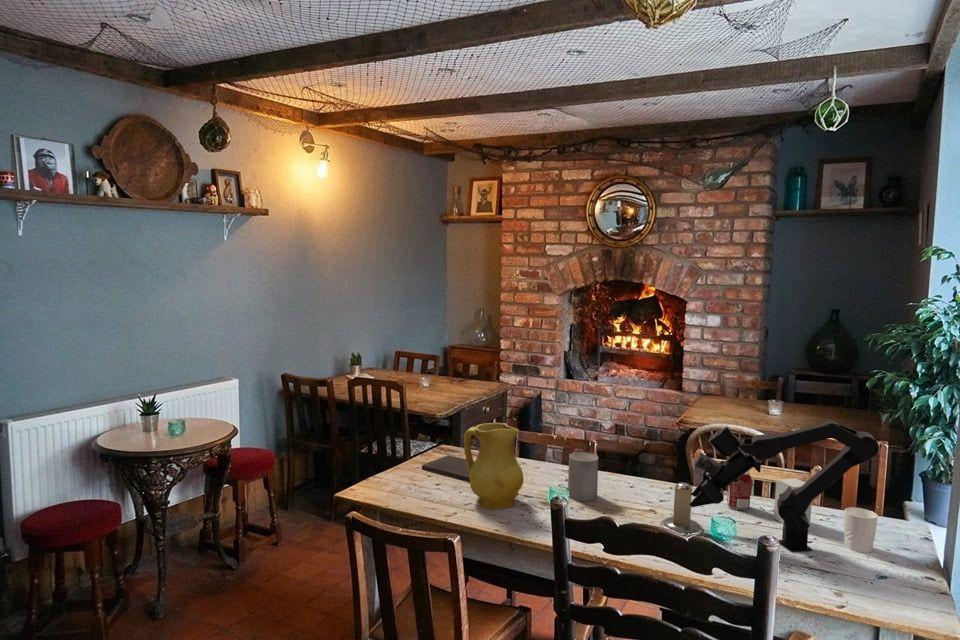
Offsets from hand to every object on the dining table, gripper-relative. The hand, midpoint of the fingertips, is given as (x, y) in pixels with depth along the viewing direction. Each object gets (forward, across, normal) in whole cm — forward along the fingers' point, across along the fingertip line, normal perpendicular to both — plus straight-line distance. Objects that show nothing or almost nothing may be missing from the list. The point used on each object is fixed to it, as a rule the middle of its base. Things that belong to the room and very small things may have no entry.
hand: (691, 500), depth 186 cm
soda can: (-3, -25, +16) cm, 30 cm away
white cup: (-24, -7, +38) cm, 46 cm away
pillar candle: (+31, -12, -19) cm, 38 cm away
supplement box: (-13, -19, +26) cm, 35 cm away
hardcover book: (+64, -19, -53) cm, 85 cm away
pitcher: (+48, +4, -37) cm, 61 cm away
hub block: (+7, 0, +3) cm, 8 cm away
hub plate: (+8, 0, +4) cm, 9 cm away
